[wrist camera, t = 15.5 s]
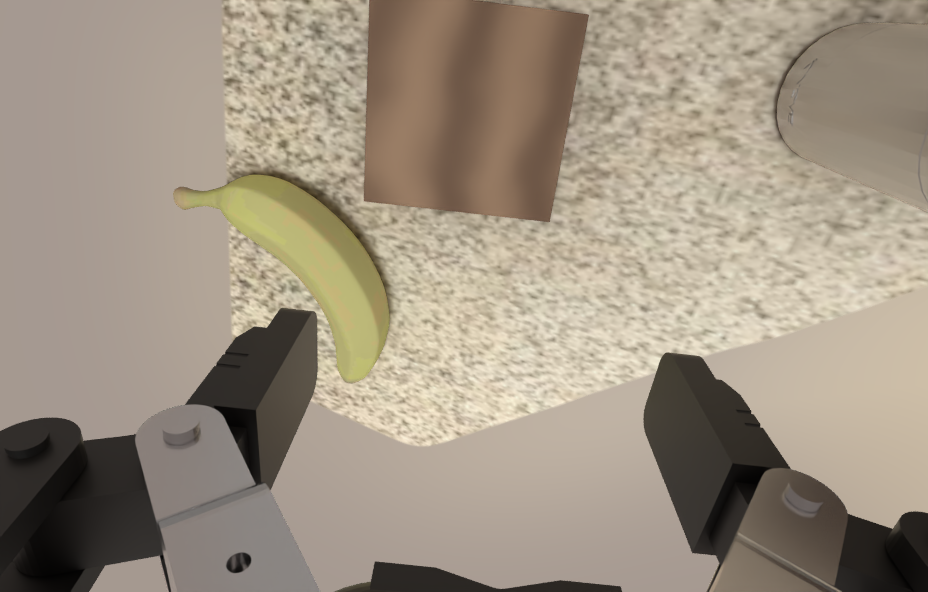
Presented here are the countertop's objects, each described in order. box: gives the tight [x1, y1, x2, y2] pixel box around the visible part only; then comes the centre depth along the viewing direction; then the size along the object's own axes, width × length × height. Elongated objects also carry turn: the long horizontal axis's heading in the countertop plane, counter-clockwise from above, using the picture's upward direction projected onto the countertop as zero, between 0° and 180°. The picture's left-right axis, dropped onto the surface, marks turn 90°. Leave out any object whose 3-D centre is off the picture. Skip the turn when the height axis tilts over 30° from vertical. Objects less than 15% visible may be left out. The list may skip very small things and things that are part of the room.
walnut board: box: [364, 0, 589, 222], centre depth 39 cm, size 14×14×2 cm
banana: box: [173, 175, 390, 383], centre depth 44 cm, size 14×6×20 cm
